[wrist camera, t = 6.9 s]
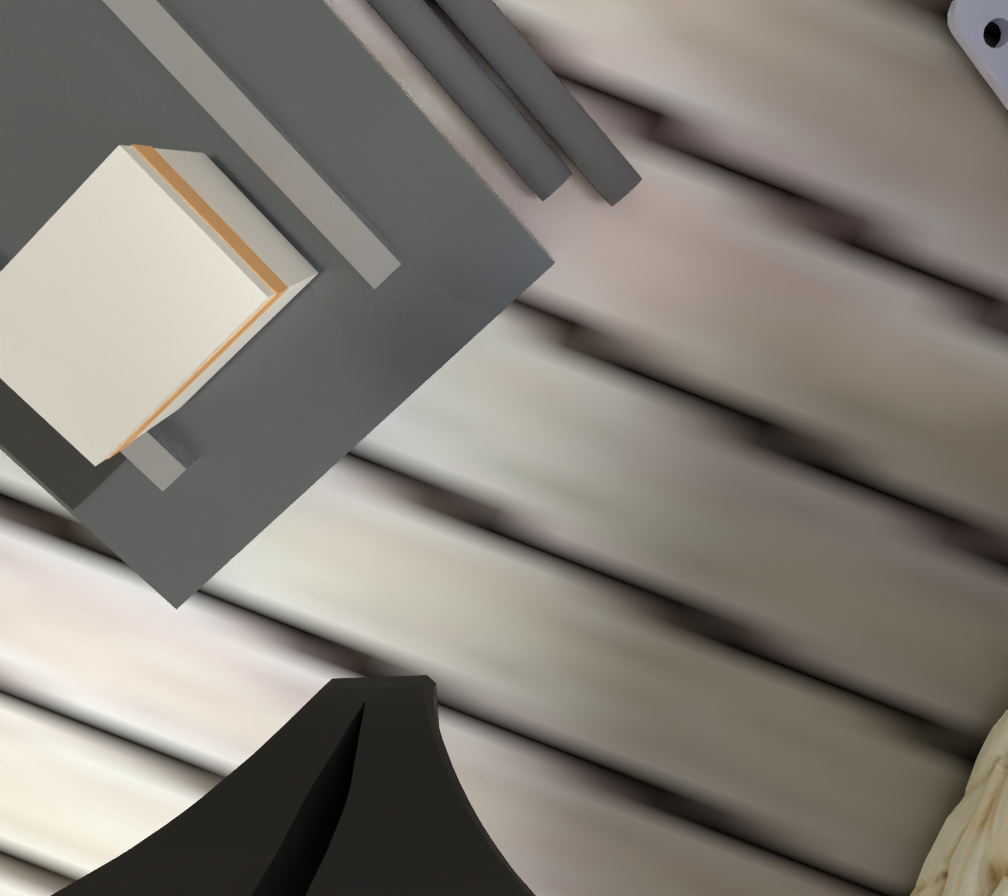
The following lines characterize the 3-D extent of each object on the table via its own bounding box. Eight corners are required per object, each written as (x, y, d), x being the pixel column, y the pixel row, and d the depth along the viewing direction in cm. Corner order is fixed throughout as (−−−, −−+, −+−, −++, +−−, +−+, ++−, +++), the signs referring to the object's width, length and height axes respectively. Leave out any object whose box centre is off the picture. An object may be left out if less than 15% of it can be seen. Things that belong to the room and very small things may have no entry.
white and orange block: (320, 273, 18) (269, 297, 14) (179, 410, 19) (95, 467, 15) (204, 151, 18) (119, 143, 14) (63, 298, 18) (-55, 328, 15)
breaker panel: (552, 257, 20) (557, 265, 18) (194, 586, 22) (165, 624, 20) (-104, -483, 16) (-181, -568, 14) (-455, -12, 18) (-561, -34, 16)
